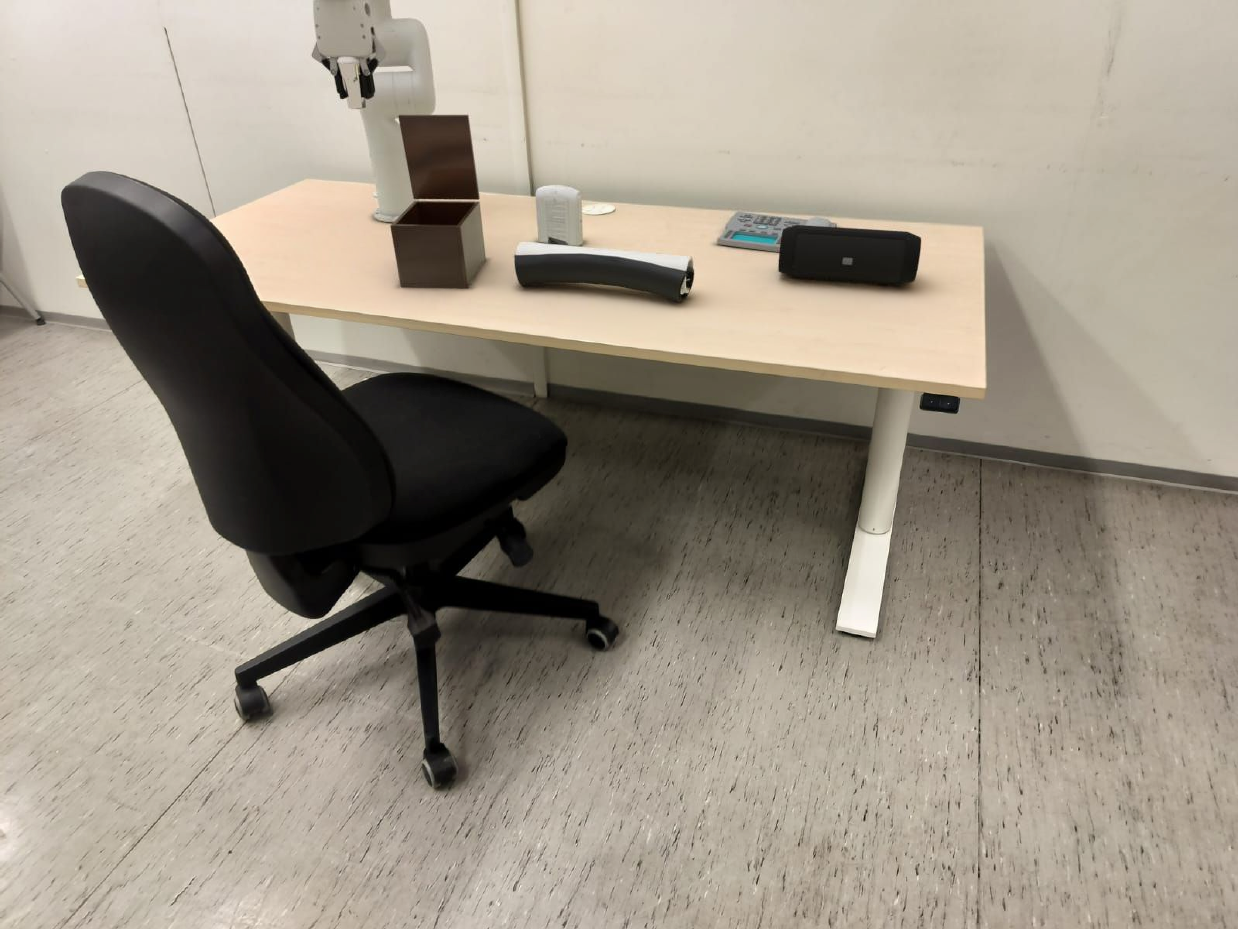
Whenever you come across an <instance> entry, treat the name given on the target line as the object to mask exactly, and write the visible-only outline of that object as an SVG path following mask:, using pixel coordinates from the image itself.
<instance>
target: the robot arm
mask: <svg viewBox="0 0 1238 929" xmlns="http://www.w3.org/2000/svg"><path fill="white" fill-rule="evenodd" d="M312 13H313V14H312V15H313V24H314V32H315V40H316V41H315V43H314V47H313V48H312V52H311V57H312V59H313V60H315V61H317V62H318V63H320V64H321V65H322V66H324V68H325V69H326V70H328V71H329V72H330V75H331V76H333V78H334V84H335V88H336V93H337V94H338V95H339V99H340V100H344V99H346V95H345V91H344V86H343V82H342V78H341V74H340V71H339V67H338V63H337V58H338V57H340V56H352V57H358V60H359V63H360V65H361V68H362V71H363V76H361V81H362V86H363V92H364V97H365V98H366V108H363V109H358V111H359V113H360V116H361V119H362V123H363V128H364V131H365V136H366V141H367V147H368V152H369V158H370V163H371V168H372V174H373V180H374V187H375V191H376V198H377V202H378V207H377V208H375V209H374V211H373V218H374V219H375V220H377V221H380V222H384V223H393V222H394V221H395V220H396V219H397V218H398V217H399V216H400V215H401V214H402V213H403V212H404V211H405V210H406V209H407V208H408V207H409V206H410V205H411V204H412V203H413V202H414V201H420V199H414V198H413V193H412V188H411V182H410V177H409V171H408V166H407V161H406V155H405V150H404V144H403V139H402V134H401V128H400V123H399V121H397V119H399V117H398V116H399V115H433V114H434V112H435V110H436V106H437V104H436V102H437V100H436V89H435V80H434V71H433V63H432V54H431V46H430V40H429V36H428V32H427V29H426V27H425V26H424V23H422V22H421V21H420V20H418V19H417V18H411V17H405V18H402V17H401V18H393V16H392V9H391V0H312ZM390 67H391V68H392V67H408V68H410V69H411V70H406V71H405V70H403V71H377V72H375V71H376V69H377V68H390Z"/></svg>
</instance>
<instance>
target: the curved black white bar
mask: <svg viewBox="0 0 1238 929" xmlns="http://www.w3.org/2000/svg"><path fill="white" fill-rule="evenodd" d="M513 258H514V260H513V261H514V263H513V264H514V271H515V275H516V279H517V281H518V284H519V285H520V287H531V286H541V285H552V284H586V285H587V284H588V285H599V286H607V287H617V288H623V289H628V290H631V291H638V292H643V293H647V294H651V295H653V296H654V295H655V296H657V297H661V298H664V299H667V300H671V301H674V302H677V303H683V302H685V300H686V299H687V298H688V296H689V294H690V292H691V290H692V287H693V284H694V281H695V269H694V258H693V256H691V255H690V256H689V255H680V254H679V255H677V254H676V255H675V254H669V253H655V252H644V251H633V250H622V249H621V250H620V249H611V248H599V247H588V246H571V245H568V244H567V243H566V241H562V240H559V239H555V238H552V237H548V243H543V242H531V241H530V242H529V241H520V242H519V243H518V244H517V246H516V250H515V253H514V256H513Z"/></svg>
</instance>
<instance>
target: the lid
mask: <svg viewBox="0 0 1238 929" xmlns="http://www.w3.org/2000/svg"><path fill="white" fill-rule="evenodd" d="M469 116H470V115H469V114H431V115H399V116H398V117H399V118H398V123H399V124H400V128H401V134H402V139H403V144H404V150H405V155H406V161H407V166H408V171H409V177H410V182H411V188H412V193H413V198H414V199H419V200H453V201H463V200H464V201H479V200H480V198H481V197H480V191H479V183H478V182H479V181H478V175H477V168H476V167H477V166H476V161H475V160H476V159H475V153H474V147H473V137H472V130H471V124H470V123H471V122H470V117H469Z"/></svg>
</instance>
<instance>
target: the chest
mask: <svg viewBox="0 0 1238 929" xmlns="http://www.w3.org/2000/svg"><path fill="white" fill-rule="evenodd" d="M482 220H483V218H482V210H481V201H479V200H464V201H463V200H419V201H414V202H413V203H412V204H411V205H410V206H409V207H408V208H407V209H406V210H405V211H404V212H403V213H402V214H401V215H400V216H399V217H398V218H397V219H396V220H395V221H394V222H391V224H390V226H389V227H390V231H391V232H390V233H391V238H392V239H391V240H392V244H393V250H394V255H395V256H394V257H395V261H396V268H397V274H398V278H399V284H400V288H426V289H427V288H431V289H434V288H435V289H469V288H470V286H471V284H472V283H473V281H474V280H475V278H476V277H477V275H478V274H479V272H480V270H481V269H482V267H483V265H484V264H485V262H486V261H487V255H486V247H485V238H484V237H485V236H484V230H483V221H482Z"/></svg>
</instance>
